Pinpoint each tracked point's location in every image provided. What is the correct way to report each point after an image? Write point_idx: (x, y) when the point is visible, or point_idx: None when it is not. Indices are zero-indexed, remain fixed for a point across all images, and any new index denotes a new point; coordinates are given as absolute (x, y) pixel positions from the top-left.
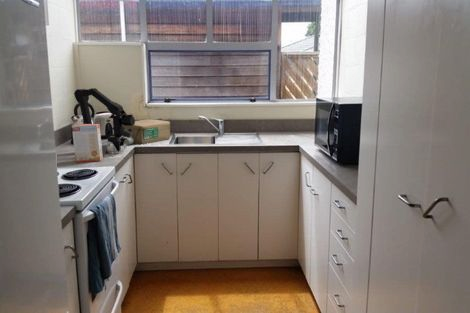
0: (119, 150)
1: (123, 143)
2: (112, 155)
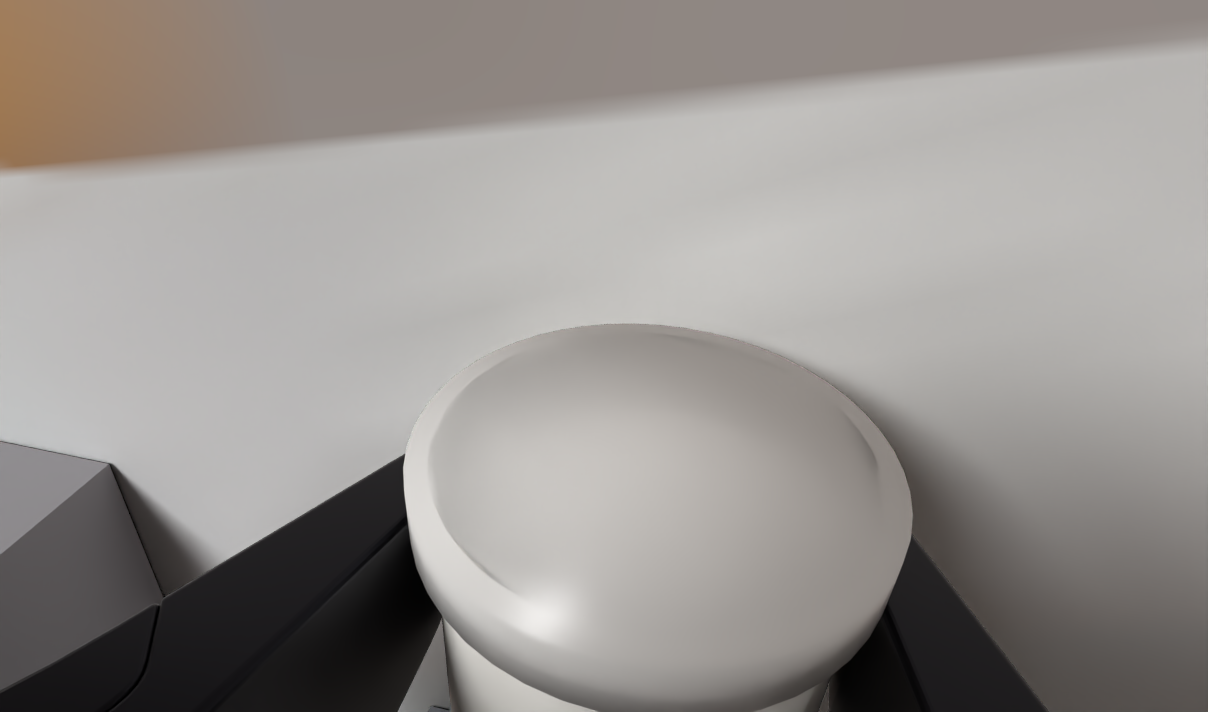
0: None
1: (125, 689)
2: (1163, 617)
